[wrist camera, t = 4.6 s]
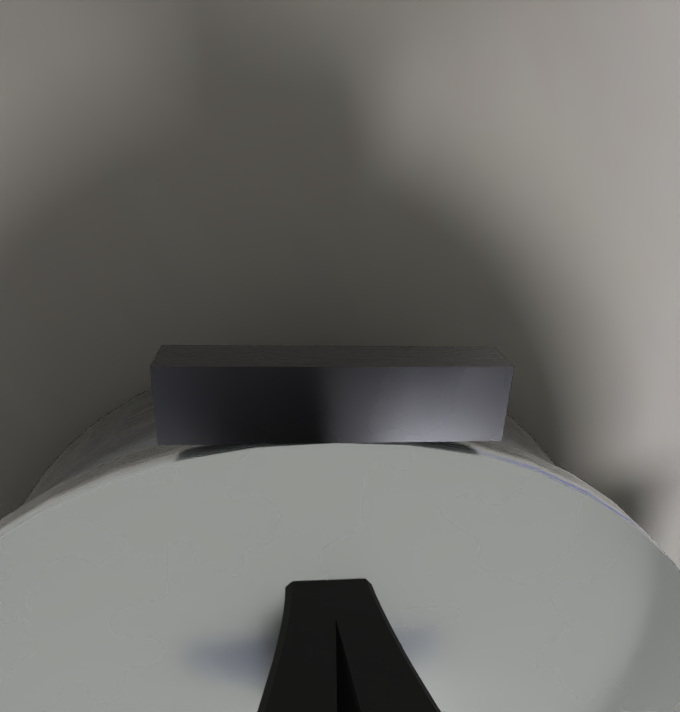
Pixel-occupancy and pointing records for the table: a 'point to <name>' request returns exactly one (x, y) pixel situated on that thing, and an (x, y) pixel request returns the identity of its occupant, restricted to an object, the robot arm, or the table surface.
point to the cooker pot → (138, 431)
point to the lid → (332, 544)
